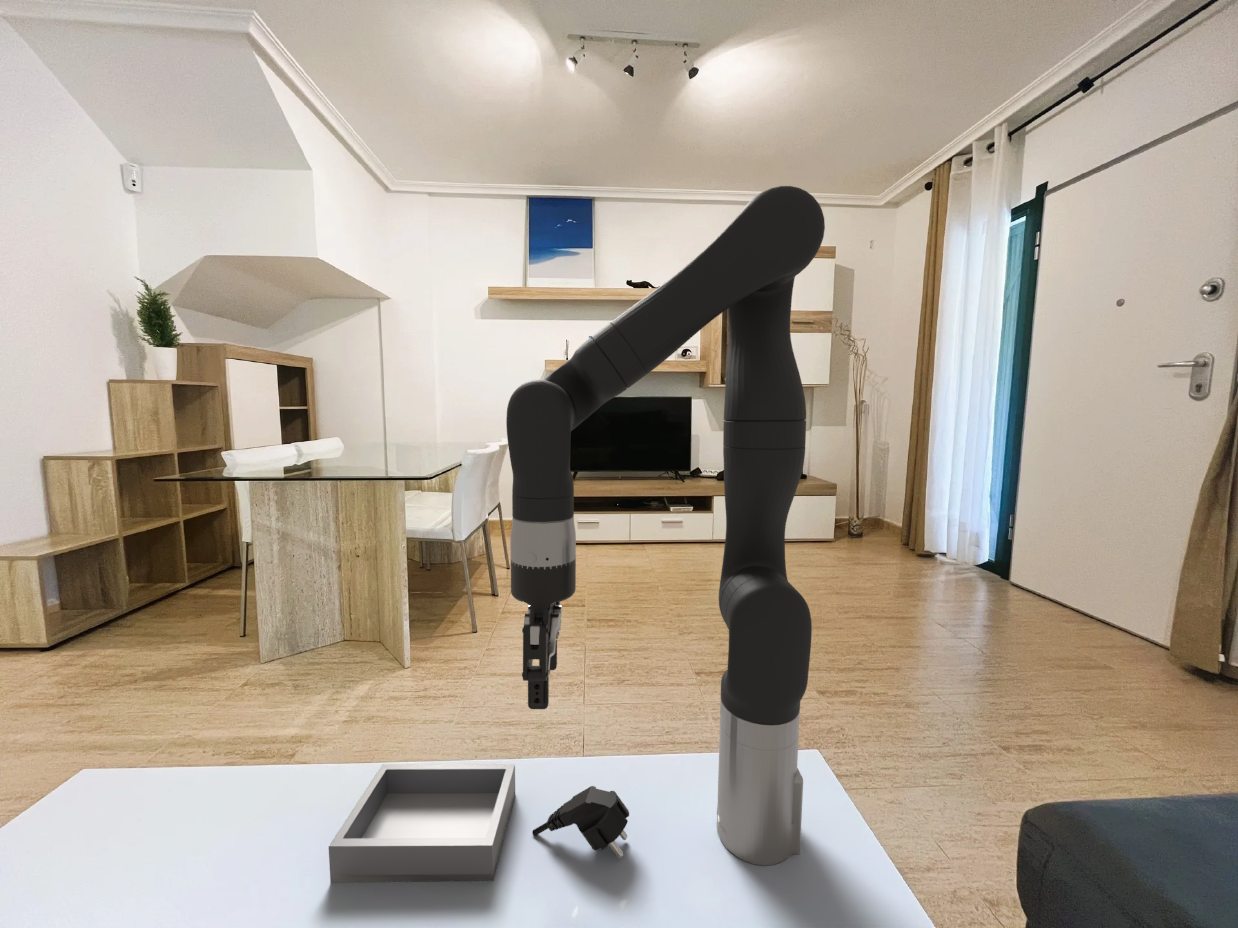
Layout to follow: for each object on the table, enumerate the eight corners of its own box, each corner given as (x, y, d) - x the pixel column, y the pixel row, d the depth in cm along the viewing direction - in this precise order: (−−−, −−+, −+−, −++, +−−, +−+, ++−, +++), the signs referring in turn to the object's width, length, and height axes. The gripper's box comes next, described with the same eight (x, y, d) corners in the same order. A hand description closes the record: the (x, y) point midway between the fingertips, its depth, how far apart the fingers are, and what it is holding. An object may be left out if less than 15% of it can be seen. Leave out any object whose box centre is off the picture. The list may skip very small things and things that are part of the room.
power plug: (538, 809, 65) (609, 767, 62) (573, 858, 65) (646, 818, 62) (521, 846, 60) (598, 802, 57) (558, 899, 59) (638, 858, 57)
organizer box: (515, 794, 69) (514, 763, 69) (493, 882, 56) (492, 845, 56) (383, 794, 69) (382, 763, 68) (330, 883, 56) (328, 846, 55)
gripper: (570, 574, 51) (570, 723, 53) (579, 539, 66) (578, 658, 67) (497, 573, 51) (498, 723, 53) (522, 538, 65) (522, 657, 67)
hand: (543, 686), depth 60 cm, fingers open, 8 cm apart
